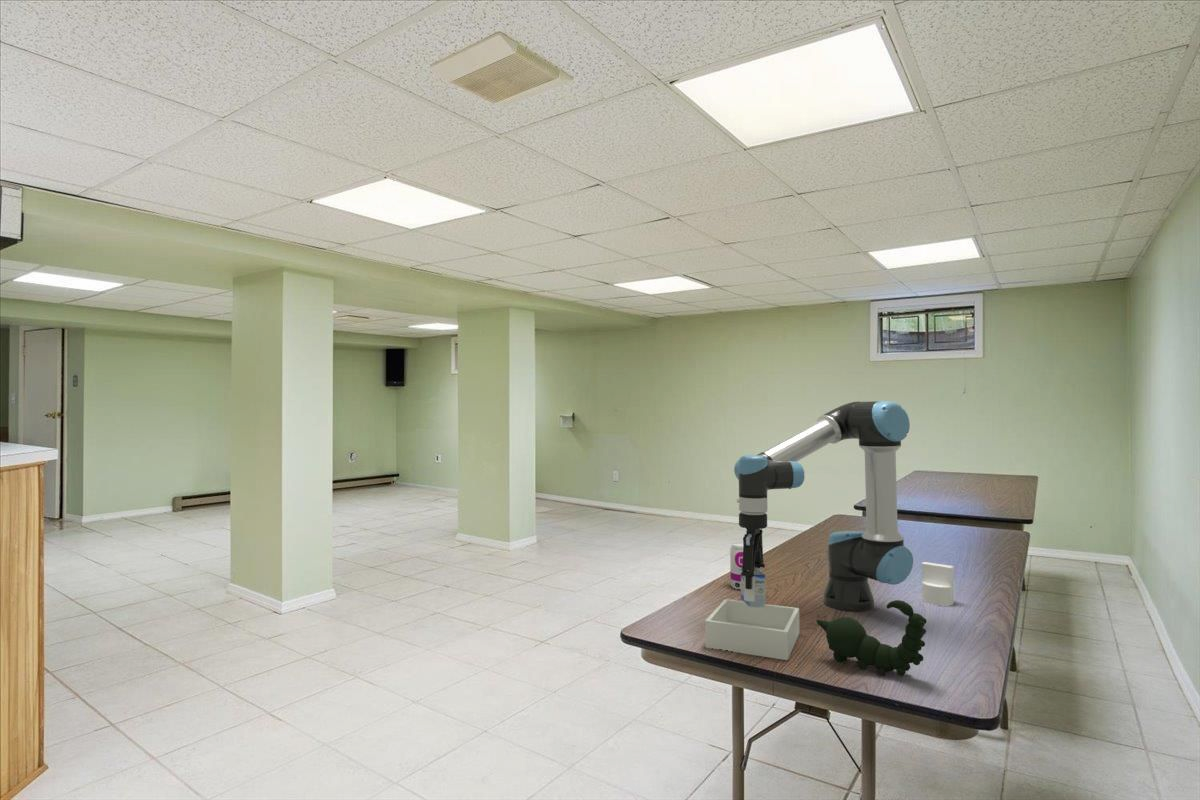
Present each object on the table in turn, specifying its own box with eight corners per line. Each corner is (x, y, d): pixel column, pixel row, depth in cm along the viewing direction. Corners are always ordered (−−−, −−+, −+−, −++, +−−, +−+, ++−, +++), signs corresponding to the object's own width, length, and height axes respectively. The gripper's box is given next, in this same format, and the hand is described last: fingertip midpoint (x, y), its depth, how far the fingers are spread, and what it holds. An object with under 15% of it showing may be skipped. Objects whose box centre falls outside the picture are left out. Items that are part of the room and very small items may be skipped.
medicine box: (740, 598, 179) (740, 567, 179) (756, 598, 179) (756, 567, 179) (749, 607, 171) (749, 574, 171) (765, 607, 171) (765, 574, 171)
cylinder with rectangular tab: (957, 601, 208) (956, 564, 208) (949, 608, 202) (948, 569, 202) (927, 596, 214) (926, 560, 214) (918, 602, 208) (918, 565, 208)
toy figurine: (924, 681, 152) (820, 647, 168) (931, 602, 151) (826, 575, 167) (913, 695, 145) (806, 657, 161) (921, 612, 144) (812, 583, 160)
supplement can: (755, 591, 221) (754, 547, 221) (730, 590, 222) (730, 546, 223) (754, 585, 229) (754, 542, 229) (730, 583, 230) (730, 541, 231)
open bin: (799, 633, 180) (799, 608, 180) (787, 660, 161) (787, 632, 161) (725, 623, 189) (724, 599, 189) (705, 647, 170) (705, 620, 170)
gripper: (747, 506, 186) (747, 584, 186) (729, 517, 167) (730, 605, 167) (774, 507, 183) (774, 587, 183) (759, 519, 164) (759, 608, 163)
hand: (753, 595), depth 175 cm, fingers closed on medicine box, 9 cm apart
